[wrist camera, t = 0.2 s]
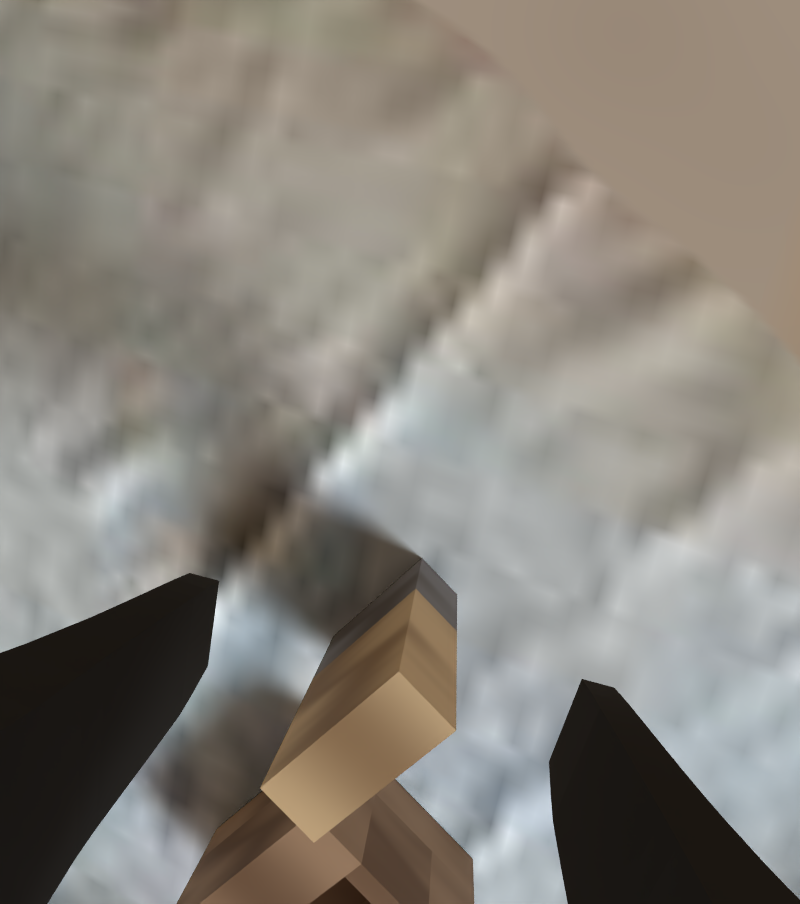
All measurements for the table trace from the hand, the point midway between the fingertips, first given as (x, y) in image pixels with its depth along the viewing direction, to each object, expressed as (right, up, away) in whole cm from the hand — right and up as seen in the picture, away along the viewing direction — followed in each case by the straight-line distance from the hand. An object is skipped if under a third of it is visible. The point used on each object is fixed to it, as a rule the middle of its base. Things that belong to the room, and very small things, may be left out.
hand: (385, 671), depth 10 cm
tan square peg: (0, -2, +11) cm, 11 cm away
